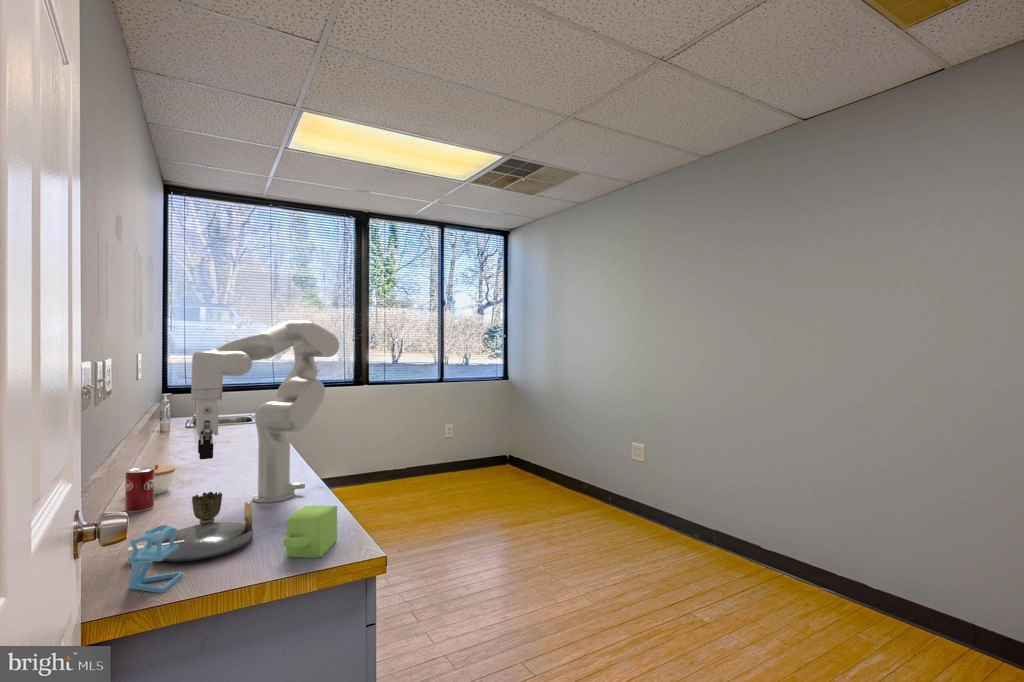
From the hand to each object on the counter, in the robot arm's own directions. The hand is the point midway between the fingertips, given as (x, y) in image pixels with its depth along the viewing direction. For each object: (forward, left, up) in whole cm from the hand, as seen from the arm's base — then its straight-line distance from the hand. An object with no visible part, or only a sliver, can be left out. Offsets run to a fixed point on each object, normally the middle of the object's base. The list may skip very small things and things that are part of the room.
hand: (205, 455), depth 143 cm
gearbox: (-21, +34, -19) cm, 45 cm away
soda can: (+15, -26, -19) cm, 36 cm away
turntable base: (+5, +19, -19) cm, 28 cm away
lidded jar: (+11, -45, -19) cm, 50 cm away
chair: (+11, +36, -19) cm, 43 cm away
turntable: (+1, +19, -18) cm, 26 cm away
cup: (-1, 0, -19) cm, 19 cm away
